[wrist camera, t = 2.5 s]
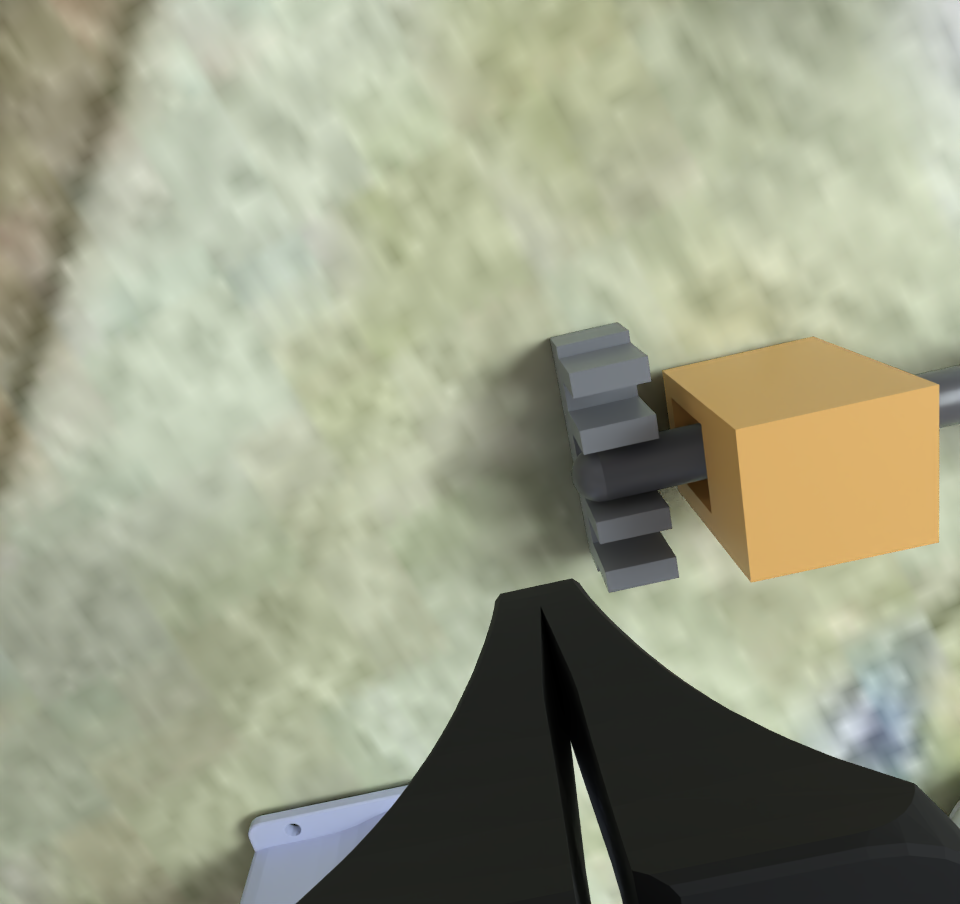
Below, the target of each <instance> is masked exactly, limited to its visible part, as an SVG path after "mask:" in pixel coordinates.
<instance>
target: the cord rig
mask: <svg viewBox="0 0 960 904" xmlns="http://www.w3.org/2000/svg"><path fill="white" fill-rule="evenodd" d="M550 342H551V347H552V352H553V358H554V363H555V368H556V374H557V379H558V384H559V390H560V395H561V400H562V405H563V411H564V416H565V421H566V427H567V432H568V437H569V443H570V448H571V453H572V459H573V467H572V481H573V484H574V486H575V488H576V490H577V491H578V492H579V496H580V501H581V506H582V512H583V517H584V522H585V528H586V533H587V538H588V544H589V549H590V553H591V555H592V558H593V560H594V563H595V565H596V567H597V570H598V572H599V571H600V572H601V575H602V577H603V579H604V582H605V584H606V587H607V589H608V592H609V593H610V592H615V591H619V590H624V589H628V588H633V587H638V586H642V585H647V584H652V583H656V582H661V581H666V580H670V579H675V578H679V573H678V566H677V559H676V556H675V554H674V553H673V551H672V550H671V548H670V546H669V545H668V543H667V542H666V540H665V539H664V537H663V535H662V534H661V532H660V531H664V530H668V529H672V524H671V517H670V510H669V506H668V505H667V503H666V502H665V500H664V499H663V498H662V496H661V495H660V494H659V492H658V491H657V490H659V489H664V488H668V487H673V486H677V485H682V484H687V483H691V482H696V481H700V480H705V479H708V478H707V469H706V461H705V452H704V444H703V436H702V427H701V424H700V423H696V424H692V425H687V426H683V427H678V428H674V429H669V430H665V431H660V432H658V425H657V418H656V414H655V413H654V412H653V411H652V410H651V409H650V408H649V407H648V406H647V404H646V403H645V402H644V401H643V400H642V399H641V398H640V397H639V396H638V390H637V385H638V384H642V383H646V382H651V376H650V369H649V362H648V356H647V355H646V354H645V353H643V352H642V351H641V350H639V349H638V348H637V347H636V346H634V345H633V344H632V343H631V342H630V336H629V330H627V329H626V328H625V327H623V326H622V325H621V324H619V323H618V322H617V323H612V324H608V325H603V326H599V327H595V328H590V329H586V330H581V331H577V332H573V333H568V334H564V335H560V336H555V337H551V338H550ZM916 376H918V377H921V378H923V379H926V380H929V381H931V382H934V383H937V384H939V428H942V427H946V426H951V425H955V424H960V365H957V366H953V367H948V368H944V369H939V370H935V371H930V372H926V373H921V374H917V375H916Z"/></svg>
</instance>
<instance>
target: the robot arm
mask: <svg viewBox="0 0 960 904" xmlns="http://www.w3.org/2000/svg"><path fill="white" fill-rule="evenodd" d="M570 741H571V742H570ZM571 744H572V747H573V750H574V753H575V756H576V759H577V762H578V765H579V768H580V771H581V774H582V777H583V780H584V783H585V786H586V789H587V791H588V794H589V797H590V800H591V803H592V806H593V809H594V812H595V815H596V818H597V821H598V824H599V827H600V830H601V833H602V836H603V839H604V842H605V845H606V848H607V851H608V854H609V857H610V860H611V863H612V866H613V869H614V873H615V876H616V880H617V883H618V886H619V890H620V893H621V897H622V901H623V904H960V828H959V827H958V826H957V825H956V824H955V823H954V822H953V821H952V820H951V819H950V818H949V817H948V816H947V815H946V814H945V813H944V812H943V811H942V810H941V809H940V808H939V807H938V806H937V805H936V804H935V803H934V802H933V801H932V800H931V799H930V798H929V797H928V796H927V795H926V794H925V793H924V792H923V791H922V790H921V789H920V788H919V787H918V786H917V785H915V784H914V783H911V782H908V781H905V780H902V779H899V778H896V777H893V776H889V775H886V774H883V773H880V772H877V771H874V770H871V769H868V768H865V767H862V766H859V765H856V764H853V763H850V762H846V761H843V760H840V759H838V758H835V757H832V756H829V755H827V754H824V753H822V752H820V751H817V750H815V749H812V748H810V747H807V746H805V745H802V744H800V743H798V742H795V741H793V740H790V739H788V738H786V737H784V736H781V735H779V734H777V733H775V732H773V731H770V730H768V729H766V728H764V727H762V726H761V725H759V724H757V723H755V722H753V721H751V720H749V719H747V718H745V717H743V716H741V715H739V714H737V713H735V712H733V711H731V710H729V709H728V708H726V707H724V706H722V705H721V704H719V703H717V702H716V701H714V700H712V699H711V698H709V697H708V696H706V695H704V694H703V693H701V692H700V691H698V690H697V689H695V688H694V687H692V686H691V685H689V684H688V683H686V682H685V681H683V680H682V679H681V678H679V677H678V676H676V675H675V674H674V673H672V672H671V671H670V670H668V669H667V668H666V667H664V666H663V665H662V664H661V663H659V662H658V661H657V660H656V659H654V658H653V657H652V656H650V655H649V654H648V653H647V652H646V651H644V650H643V649H642V648H641V647H640V646H639V645H637V644H636V643H635V642H634V641H633V640H632V639H631V638H630V637H629V636H628V635H626V634H625V633H624V632H623V631H622V630H621V629H620V628H619V627H618V626H617V625H616V624H615V623H614V622H613V621H612V620H611V619H610V618H609V617H608V616H607V615H606V614H605V613H604V612H603V611H602V610H601V609H600V608H599V607H598V606H597V605H596V604H595V602H594V601H593V600H592V599H591V598H590V597H589V595H588V594H587V593H586V592H585V590H584V589H583V588H582V586H581V585H580V583H578V582H577V581H575V580H574V579H567V580H563V581H558V582H553V583H549V584H544V585H539V586H535V587H530V588H525V589H521V590H516V591H511V592H507V593H502V594H500V595H499V597H498V598H497V599H496V601H495V607H494V612H493V616H492V620H491V623H490V627H489V630H488V633H487V636H486V639H485V642H484V645H483V648H482V650H481V653H480V656H479V658H478V661H477V663H476V666H475V669H474V671H473V673H472V676H471V678H470V680H469V682H468V684H467V686H466V689H465V691H464V693H463V695H462V697H461V699H460V701H459V703H458V705H457V708H456V710H455V711H454V713H453V715H452V717H451V719H450V721H449V723H448V724H447V726H446V728H445V730H444V731H443V733H442V735H441V736H440V738H439V740H438V741H437V743H436V745H435V746H434V748H433V749H432V751H431V753H430V754H429V756H428V757H427V759H426V760H425V762H424V763H423V765H422V766H421V767H420V769H419V770H418V772H417V773H416V775H415V776H414V777H413V779H412V780H411V782H410V783H409V785H406V786H401V787H396V788H392V789H387V790H382V791H377V792H372V793H368V794H363V795H358V796H353V797H348V798H344V799H339V800H334V801H329V802H324V803H320V804H315V805H310V806H305V807H300V808H296V809H291V810H286V811H281V812H276V813H272V814H267V815H262V816H259V817H256V818H255V819H254V820H253V821H252V822H251V825H250V828H249V831H248V837H249V840H250V842H251V844H252V846H253V849H254V851H255V853H254V857H253V860H252V863H251V867H250V870H249V874H248V877H247V881H246V884H245V887H244V891H243V894H242V898H241V901H240V904H591V901H590V894H589V888H588V882H587V875H586V869H585V860H584V852H583V843H582V835H581V826H580V818H579V809H578V801H577V792H576V784H575V775H574V767H573V759H572V750H571ZM291 824H297V825H299V826H293V825H291Z"/></svg>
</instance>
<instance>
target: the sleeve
mask: <svg viewBox="0 0 960 904" xmlns="http://www.w3.org/2000/svg"><path fill="white" fill-rule="evenodd" d="M662 373H663V380H664V388H665V395H666V403H667V410H668V417H669V425H670V429H674V428H678V427H683V426H687V425H692V424H696V423H700V424H701V427H702V436H703V444H704V452H705V461H706V469H707V478H708V479H705V480H700V481H696V482H691V483H687V484H682V485H678V491H679V492H680V493H681V494H682V496H683V497H684V498H685V499H686V501H687V502H688V503H689V504H690V506H691V507H692V508H693V510H694V511H695V512H696V513H697V515H698V516H699V517H700V518H701V520H702V521H703V522H704V523H705V525H706V526H707V527H708V529H709V530H710V531H711V532H712V534H713V535H714V536H715V537H716V539H717V540H718V541H719V543H720V544H721V545H722V546H723V548H724V549H725V550H726V551H727V553H728V554H729V555H730V556H731V558H732V559H733V560H734V562H735V563H736V564H737V565H738V567H739V568H740V569H741V570H742V572H743V573H744V574H745V575H746V577H747V578H748V579H749V581H750V582H756V581H761V580H765V579H770V578H775V577H779V576H784V575H789V574H793V573H798V572H803V571H807V570H812V569H817V568H821V567H826V566H831V565H835V564H840V563H845V562H849V561H854V560H859V559H863V558H868V557H873V556H877V555H882V554H887V553H891V552H896V551H901V550H905V549H910V548H915V547H919V546H924V545H929V544H933V543H938V542H939V384H937V383H934V382H931V381H929V380H926V379H923V378H921V377H918V376H916V375H913V374H910V373H908V372H905V371H902V370H900V369H897V368H895V367H892V366H889V365H887V364H884V363H881V362H879V361H876V360H874V359H871V358H868V357H866V356H863V355H860V354H858V353H855V352H853V351H850V350H847V349H845V348H842V347H839V346H837V345H834V344H832V343H829V342H826V341H824V340H821V339H818V338H816V337H809V338H805V339H800V340H796V341H791V342H787V343H782V344H778V345H773V346H769V347H765V348H760V349H756V350H751V351H747V352H742V353H738V354H733V355H729V356H725V357H720V358H716V359H711V360H707V361H702V362H698V363H693V364H689V365H685V366H680V367H676V368H671V369H667V370H662Z"/></svg>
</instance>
